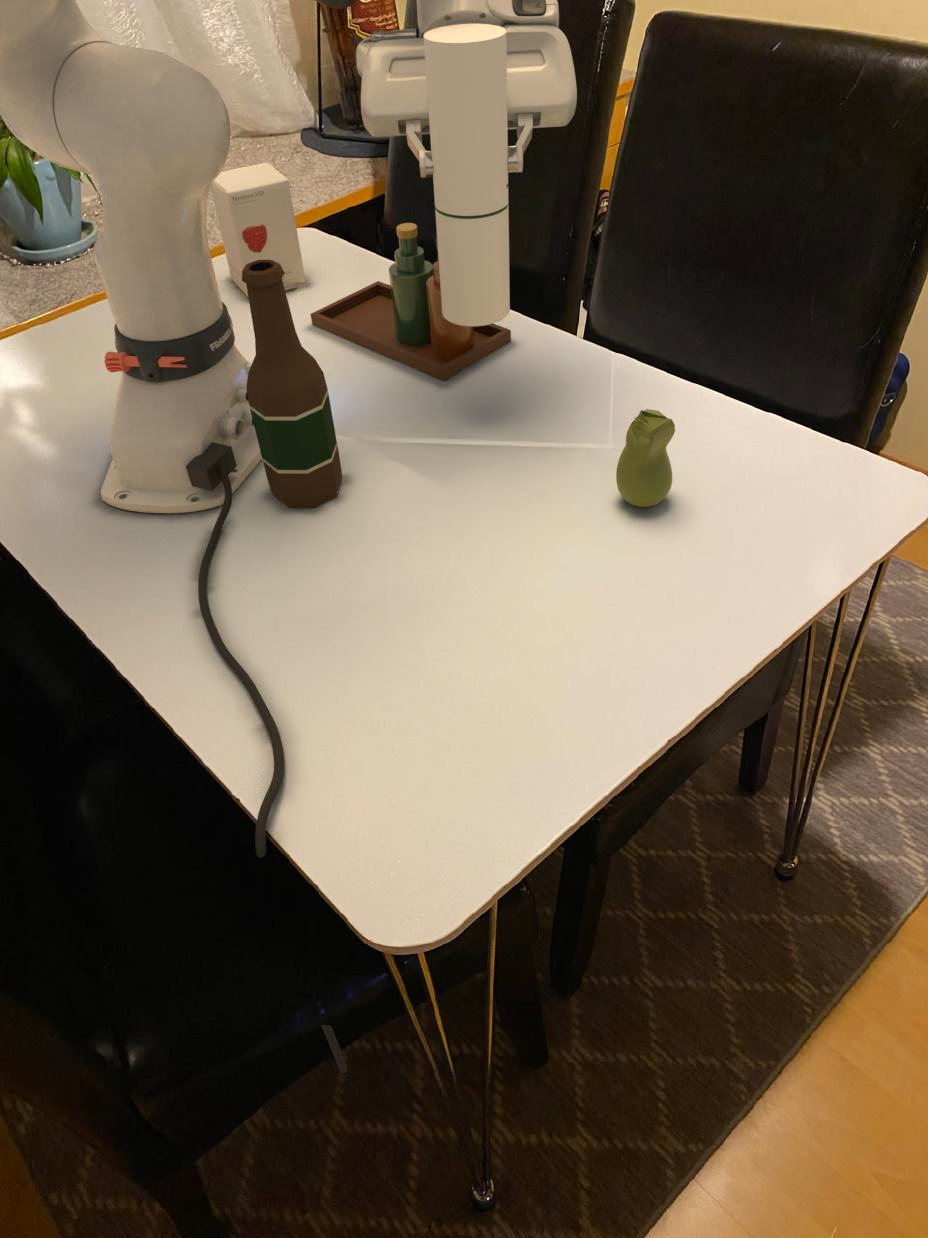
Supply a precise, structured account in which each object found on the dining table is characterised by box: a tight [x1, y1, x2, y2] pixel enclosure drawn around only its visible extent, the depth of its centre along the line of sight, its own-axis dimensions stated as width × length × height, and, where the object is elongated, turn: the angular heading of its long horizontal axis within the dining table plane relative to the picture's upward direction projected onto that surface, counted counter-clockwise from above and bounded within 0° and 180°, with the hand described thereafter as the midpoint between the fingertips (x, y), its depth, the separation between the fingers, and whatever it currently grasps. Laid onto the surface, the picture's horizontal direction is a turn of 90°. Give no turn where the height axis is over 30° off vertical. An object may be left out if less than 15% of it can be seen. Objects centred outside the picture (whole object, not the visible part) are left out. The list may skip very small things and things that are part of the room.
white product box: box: [210, 161, 307, 298], centre depth 128 cm, size 9×9×15 cm
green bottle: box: [388, 222, 433, 346], centre depth 113 cm, size 6×6×14 cm
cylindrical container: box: [424, 24, 511, 326], centre depth 86 cm, size 7×7×25 cm
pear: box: [615, 408, 676, 508], centre depth 87 cm, size 6×5×10 cm
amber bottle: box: [426, 237, 475, 361], centre depth 109 cm, size 6×6×14 cm
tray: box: [310, 280, 512, 382], centre depth 118 cm, size 25×13×2 cm, turn 47°
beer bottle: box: [242, 260, 343, 509], centre depth 87 cm, size 8×8×24 cm
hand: (472, 171), depth 84 cm, fingers closed on cylindrical container, 7 cm apart
